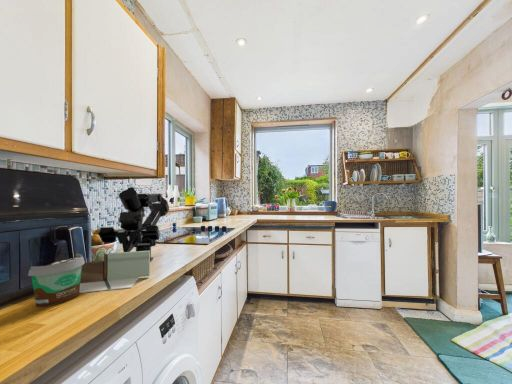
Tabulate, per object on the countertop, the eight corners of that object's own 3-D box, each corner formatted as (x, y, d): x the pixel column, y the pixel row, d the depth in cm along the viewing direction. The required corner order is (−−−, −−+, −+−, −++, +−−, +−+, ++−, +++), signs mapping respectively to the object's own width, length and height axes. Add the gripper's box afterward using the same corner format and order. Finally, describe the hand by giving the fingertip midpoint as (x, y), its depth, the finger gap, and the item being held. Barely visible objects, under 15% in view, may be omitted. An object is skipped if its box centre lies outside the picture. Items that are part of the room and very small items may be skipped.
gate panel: (109, 278, 74) (109, 253, 74) (150, 274, 76) (149, 250, 77) (107, 279, 72) (107, 254, 72) (149, 276, 75) (149, 251, 75)
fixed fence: (79, 282, 72) (79, 255, 72) (108, 279, 73) (108, 253, 74) (76, 284, 70) (77, 256, 70) (106, 281, 72) (106, 254, 72)
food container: (49, 312, 53) (48, 268, 53) (28, 309, 54) (27, 267, 54) (96, 289, 65) (96, 254, 65) (78, 287, 66) (78, 252, 66)
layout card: (85, 277, 77) (85, 276, 77) (142, 272, 81) (142, 271, 81) (59, 295, 62) (59, 293, 62) (131, 288, 67) (131, 286, 67)
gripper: (100, 204, 80) (84, 241, 69) (158, 203, 84) (152, 238, 73) (109, 224, 87) (96, 261, 76) (161, 222, 92) (156, 257, 81)
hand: (125, 254), depth 76 cm, fingers closed
